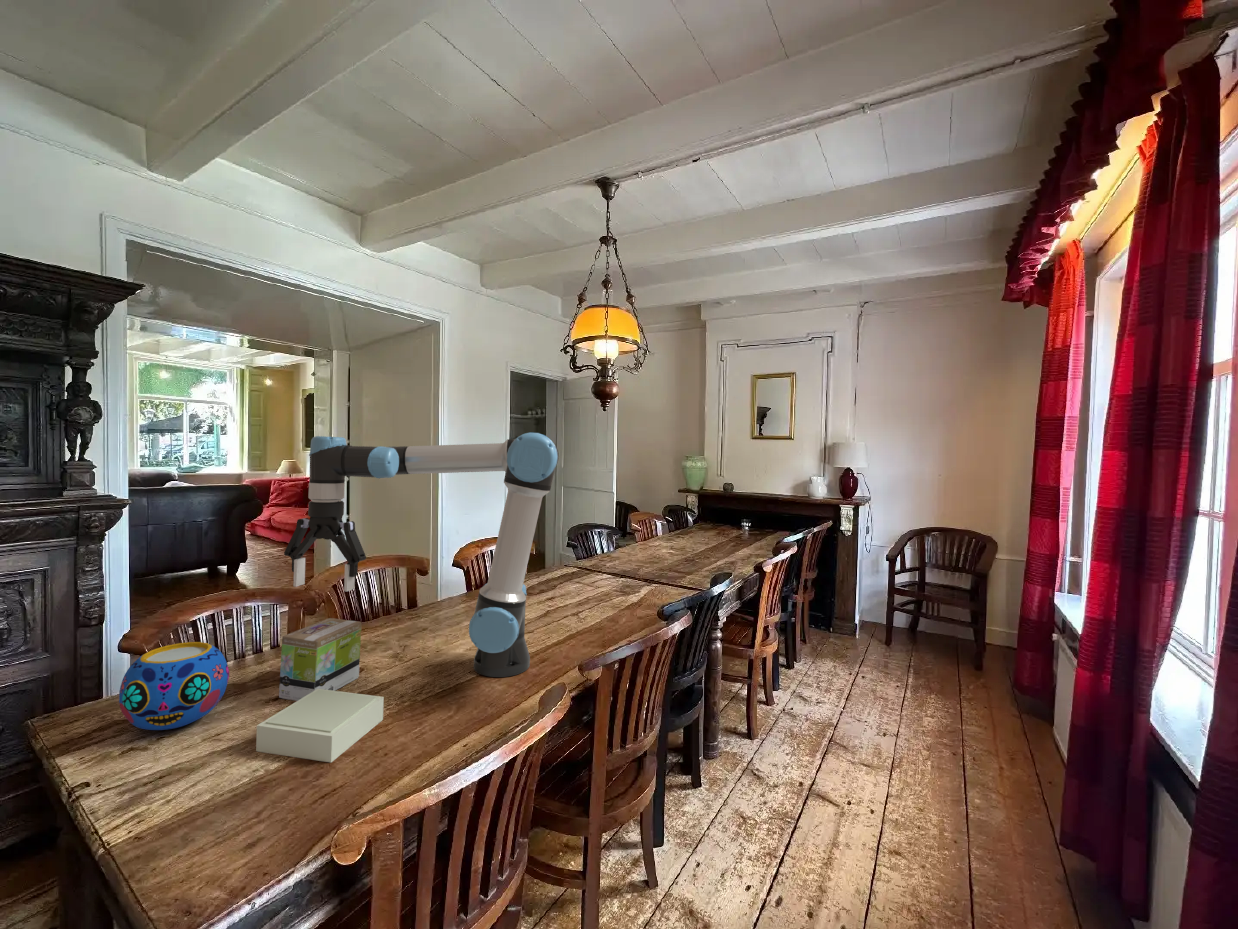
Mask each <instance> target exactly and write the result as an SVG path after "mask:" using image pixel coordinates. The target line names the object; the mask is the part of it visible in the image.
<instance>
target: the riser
mask: <svg viewBox="0 0 1238 929" xmlns="http://www.w3.org/2000/svg"><path fill="white" fill-rule="evenodd" d="M384 698H385V697H384V696H379V695H370V694H362V693H355V692H348V691H347V692H346V691H339V690H335V691H332V690H325V689H316V690H315V691H313V692H311V693H310V694H308V695H306V696H305V697H303V698H301V699H300V700H298V701H295V702H293V703H292V704H290V705H289V706H287V707H285V708H283V709H281V710H280V711H278V712H276V713H275V714H274V715H272V716H271V717H268V718H267V719H265V720H264V721H262V722H260V723H259V724H257V725H256V739H255V740H256V741H255V742H256V746H255V748H256V749H255V752H259V753H265V754H272V755H279V756H285V757H286V756H287V757H293V758H298V759H303V760H304V759H305V760H312V761H319V762H323V763H324V762H325V763H333V762H334V761H335V760H336V759H337V758H339V757H340V756H341V755H342V754H344V753H345V752H346V751H347V750H348V749H350V748H351V747H352V746H353V745H354V744H356V743H357V742H358V741H359V740H360V739H362V738H363V737H364V736H365V735H366V734H367V733H369V732H370V731H371V730H372V729H373V728H375V727H376V726H377V725H379V724H380V723H381V722H382V721H383V720H384Z"/></svg>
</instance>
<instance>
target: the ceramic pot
mask: <svg viewBox="0 0 1238 929" xmlns="http://www.w3.org/2000/svg"><path fill="white" fill-rule="evenodd" d="M229 678H230V670H229V666H228V661H227V660H226V658H225V656H224V654H223V653H222V651H221V650H220V649H218V647H216V646H214V645H212V644H210V643H208V642H202V641H189V642H188V641H187V642H179V643H173V644H168V645H165V646H164V645H163V646H161V647H157V648H154V649H151V650H149V651H147V652H146V653H144V654H142V655H140V656H139V657H138V658H137V659H136V660H135V661H134V662H133V663H132V664H131V665H130V666H129V667H128V669H127V670H126V672H125V673H124V675H123V678H122V681H121V683H120V687H119V695H118V703H119V707H120V711H121V713H122V715H123V717H124V718H125V719H126V720H127V721H128V722H129V723H130V724H131V725H133V726H134V727H136V728H139V729H142V730H149V731H166V730H172V729H177V728H181V727H184V726H187V725H189V724H191V723H193V722H196V721H198V720H200V719H202V718H203V717H204V716H206V715H208V714H209V713H210V712H211V711H212V710H213V709H214V708H215V707H217V705H218V704H219V703H220V701H221V700H222V698H223V697H224V694H225V692H226V690H227V688H228V687H227V686H228V683H229Z"/></svg>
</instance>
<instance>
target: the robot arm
mask: <svg viewBox="0 0 1238 929" xmlns="http://www.w3.org/2000/svg"><path fill="white" fill-rule="evenodd" d="M309 450H310V451H309V453H308V456H309V480H308V481H309V483H308V496H307V497H308V499H309V500H310V501H309V502H308V506H307V508H308V510H307V512H308V513H307V515H308V517H309V518H308V517H304V518H298V519H297V520H296V526H295V529H294V532H293V533H292V536H291V537H290V540H289V542H288V544H287V546H286V548H285V550H284V552H283V554H284V556H286V557H290V558H291V571H292V572H293V584H292V586H293V587H295V588H296V587H300V586H302V585H305V584H306V583H305V581H306V557H305V555H304V554H306V553H307V552H308V550H309V549H310V548H311V546H312V545H313V544H314V543H315V542H316V540H321V539H324V540H327V541H328V540H330V541H331V542H332V543H334V544H335V546H336V548H338V550H339V551H340V552H341V554H342V556H343V557H344V559H345V561H347V563H345V564H344V581H343V582H344V583H343V584H344V585H343V586H344V587H343V592H349V591H351V590H354V589H355V587H356V586H355V584H356V583H355V582H356V577H357V576H358V571H359V570H358V569H359V568H358V567H359V563H360V562H362V561H365V560H366V559H367V556H366V553H365V551H364V548H363V546H362V544H361V541H360V538H359V536H358V533H357V531H356V523H355V521H354V520H352V521H346V522H345V521H343V516H344V514H345V502H344V501H343V499H345V482H346V481H345V480H346V477H348V478H349V477H357V478H375V479H390V478H394V477H395V476H396V475H397V476H399V475H419V474H423V475H425V474H447V473H449V474H452V473H453V474H454V473H457V474H458V473H482V472H483V473H485V472H489V473H490V472H505V475H504V479H503V484H504V485H505V487H506V488H507V495H506V499H505V503H504V508H503V511H502V518H501V520H500V521H501V522H500V525H499V526H500V527H499V529H498V536H497V540H496V543H495V548H494V552H493V557H492V561H491V562H492V563H491V564H490V571H489V575H488V580H487V583H485V584H484V585H483V586H482V587H480V588H479V592H478V596H477V600H476V603H475V604H476V605H475V609H474V612H473V614H472V616H471V619H470V621H469V624H468V635H469V638H470V641H471V642H472V643H473V645H474V646H475V647H476V648H477V650H476V652H475V655H474V658H473V670H474V671H475V672H476V673H477V674H479V675H481V676H484V677H491V678H506V677H513V676H516V675H519V674H522V673H524V672H526V671H527V670H528V669H529V668H530V666H531V664H530V663H531V656H530V652H529V648H528V645H527V642H526V637H525V632H526V630H525V628H526V626H525V625H526V604H527V603H526V602H527V595H528V594H527V587H526V585H525V583H524V581H525V577H526V573H527V570H528V569H527V568H528V563H529V560H530V554H531V551H532V547H533V540H534V537H535V532H536V528H537V522H538V519H539V514H540V509H541V506H542V501H543V497H544V496H546V495H547V494H548V493H550V492H551V489H552V484H553V479H554V476H555V475H554V474H555V470H556V467H557V465H558V461H559V450H558V447H557V445H556V444H555V442H554V441H553V440H552V439H550V437H548V436H547V435H545V434H542V433H540V432H533V431H532V432H526V433H523V434H521V435H519V436H517V437H516V438H511V439H510V438H509V439H506V440H505V441H504V442H500V443H495V442H494V443H467V444H440V445H439V444H437V445H433V444H431V445H411V446H409V445H408V446H406V445H405V446H397V445H396V446H381V445H380V446H374V445H373V446H370V445H369V446H367V445H366V446H365V445H363V446H362V445H348V444H347V440H346V438H345V437H341V436H322V435H320V436H319V435H316V436H313V437H312V438H311V440H310V449H309ZM308 528H309V529H310V530H309V531H308ZM307 531H308V533H307ZM306 533H307V534H306ZM304 536H305V538H304Z"/></svg>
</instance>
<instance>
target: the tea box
mask: <svg viewBox="0 0 1238 929" xmlns="http://www.w3.org/2000/svg"><path fill="white" fill-rule="evenodd" d="M361 636H362V621H357V620H356V621H355V620H347V619H340V618H334V617H329V618H325V619H324V620H321V621H318V622H316V623H314V624H310V625H309V626H305V627H302V628H300V629H297V630H295V631H292V632H290V633H288V634H284V635H282V638H281V639H282V640H281V653H280V654H281V655H280V674H279V688H278V689H279V690H278V698H279V699H284V700H289V701H295V702H297V701H298V700H300V699H301V698H303V697H305V696H306V695H308V694H310V693H311V692H313V691H315V690H316V689H325V690H332V691H338V690H339V689H341V688H343V687H344V686H346V685H348V684H350V683H351V682H353V681H355V680H358V679H359V677H360V659H361V642H362V640H361Z"/></svg>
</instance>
